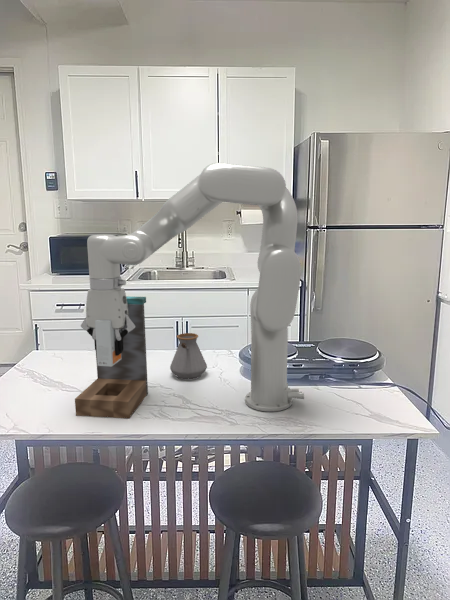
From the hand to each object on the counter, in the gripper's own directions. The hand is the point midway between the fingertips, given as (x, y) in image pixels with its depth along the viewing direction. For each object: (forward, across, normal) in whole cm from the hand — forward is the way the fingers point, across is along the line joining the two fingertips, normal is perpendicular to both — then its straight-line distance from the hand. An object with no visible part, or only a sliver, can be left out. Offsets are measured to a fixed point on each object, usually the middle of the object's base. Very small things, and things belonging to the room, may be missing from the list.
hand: (109, 352), depth 117 cm
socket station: (+15, 0, -2) cm, 15 cm away
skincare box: (+3, 0, 0) cm, 3 cm away
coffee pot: (+15, -16, -19) cm, 29 cm away
